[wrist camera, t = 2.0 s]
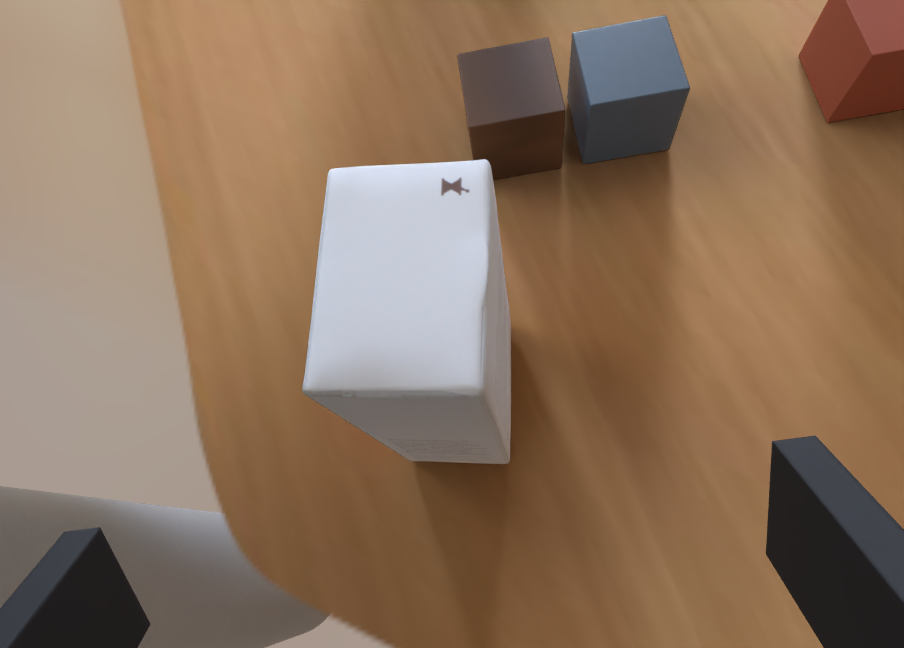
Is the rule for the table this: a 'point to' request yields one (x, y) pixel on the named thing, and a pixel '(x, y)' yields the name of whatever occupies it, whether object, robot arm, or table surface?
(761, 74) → the table surface
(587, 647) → the table surface
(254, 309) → the table surface
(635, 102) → the block
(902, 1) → the block
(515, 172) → the block
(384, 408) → the cosmetic box
